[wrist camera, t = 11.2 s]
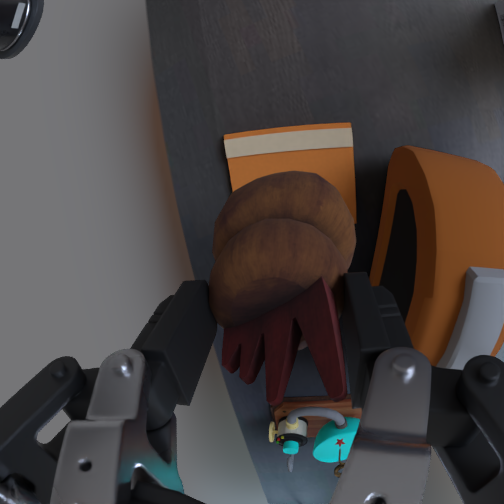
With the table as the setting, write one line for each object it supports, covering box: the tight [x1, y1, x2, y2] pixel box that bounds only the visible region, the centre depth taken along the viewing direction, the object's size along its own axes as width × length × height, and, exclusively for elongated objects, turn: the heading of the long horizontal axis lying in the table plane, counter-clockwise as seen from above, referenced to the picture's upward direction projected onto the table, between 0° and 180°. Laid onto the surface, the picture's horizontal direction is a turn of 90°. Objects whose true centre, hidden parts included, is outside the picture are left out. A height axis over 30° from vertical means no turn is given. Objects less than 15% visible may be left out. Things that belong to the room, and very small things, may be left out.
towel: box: [224, 123, 357, 224], centre depth 28 cm, size 12×10×1 cm
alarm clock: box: [369, 145, 504, 370], centre depth 22 cm, size 23×9×17 cm, turn 179°
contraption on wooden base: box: [269, 394, 362, 478], centre depth 36 cm, size 14×18×15 cm
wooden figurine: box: [209, 171, 356, 406], centre depth 12 cm, size 7×6×15 cm
